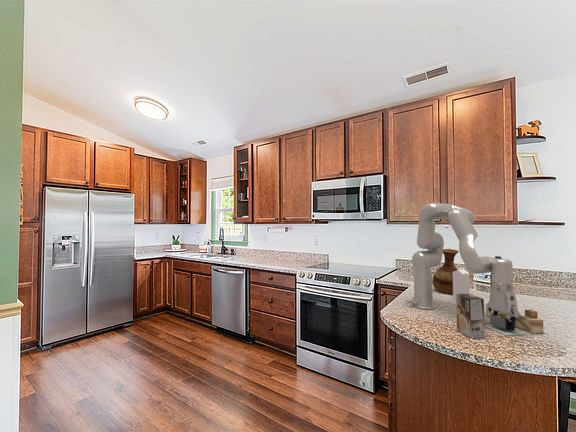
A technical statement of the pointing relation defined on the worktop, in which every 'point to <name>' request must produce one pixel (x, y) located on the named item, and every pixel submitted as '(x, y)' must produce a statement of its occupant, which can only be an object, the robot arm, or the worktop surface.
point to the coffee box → (470, 315)
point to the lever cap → (499, 320)
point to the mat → (504, 330)
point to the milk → (460, 282)
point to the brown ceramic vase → (445, 272)
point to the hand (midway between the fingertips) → (502, 326)
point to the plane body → (527, 321)
